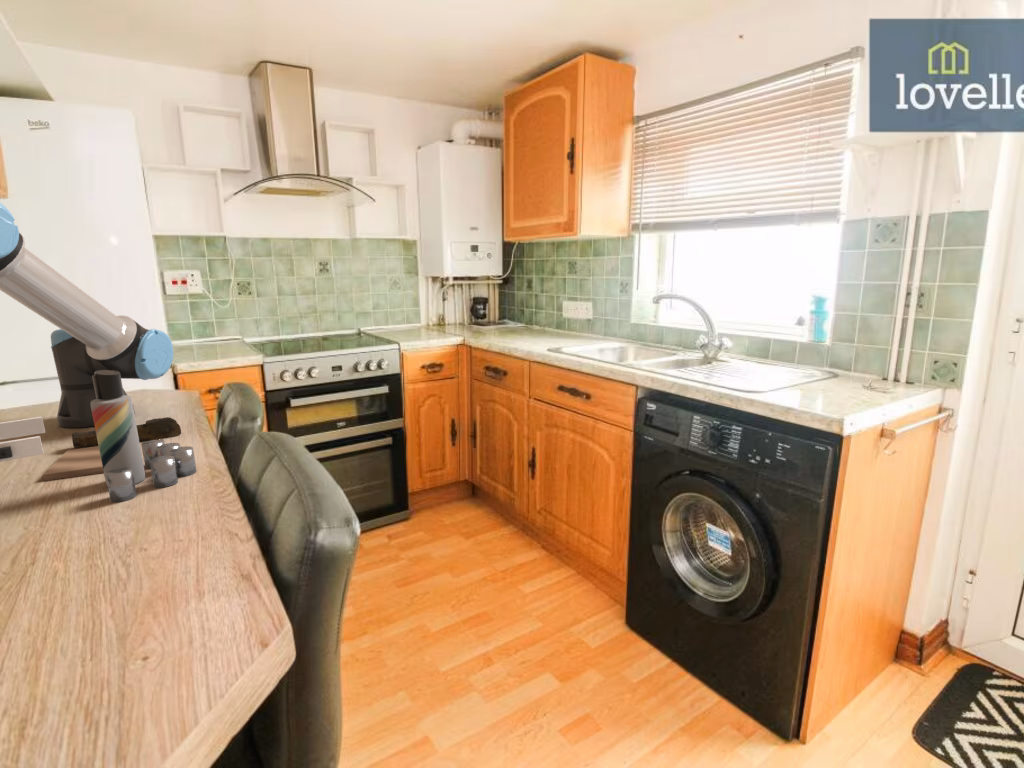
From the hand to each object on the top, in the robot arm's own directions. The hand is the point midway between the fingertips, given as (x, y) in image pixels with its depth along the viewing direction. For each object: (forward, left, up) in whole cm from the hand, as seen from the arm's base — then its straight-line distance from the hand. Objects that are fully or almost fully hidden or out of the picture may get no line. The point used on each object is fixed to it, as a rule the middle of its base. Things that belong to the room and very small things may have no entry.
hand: (43, 434), depth 87 cm
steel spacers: (-2, +14, -11) cm, 18 cm away
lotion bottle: (-3, +9, -11) cm, 15 cm away
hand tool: (-29, +5, -11) cm, 31 cm away
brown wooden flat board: (-17, +1, -11) cm, 20 cm away
